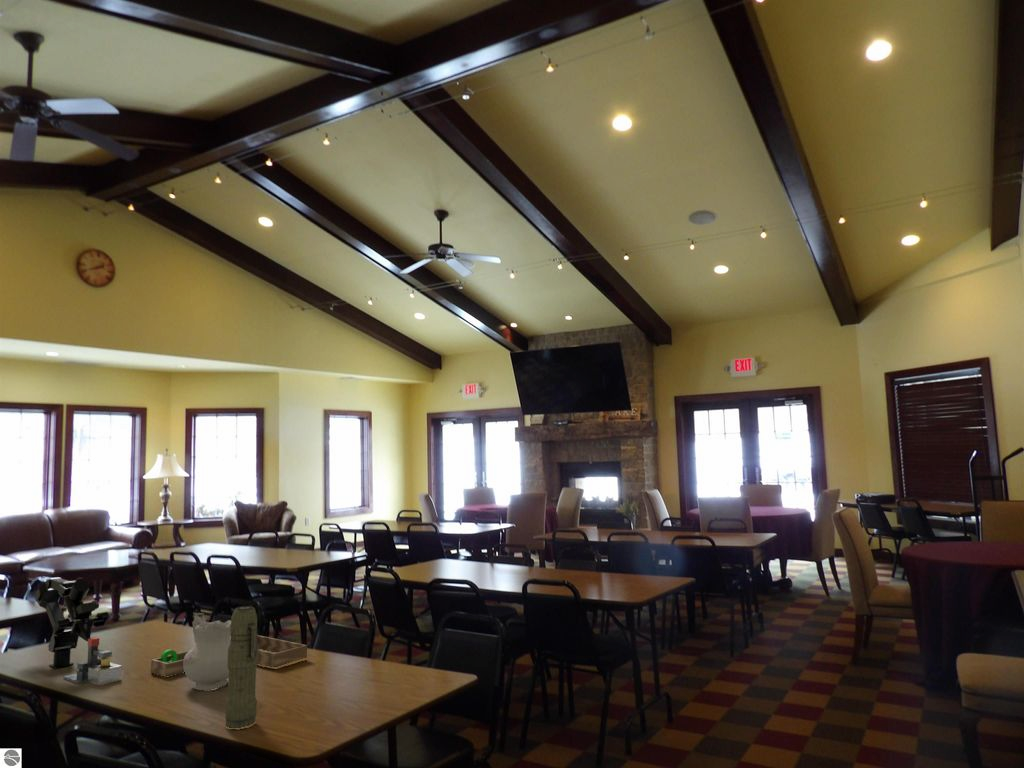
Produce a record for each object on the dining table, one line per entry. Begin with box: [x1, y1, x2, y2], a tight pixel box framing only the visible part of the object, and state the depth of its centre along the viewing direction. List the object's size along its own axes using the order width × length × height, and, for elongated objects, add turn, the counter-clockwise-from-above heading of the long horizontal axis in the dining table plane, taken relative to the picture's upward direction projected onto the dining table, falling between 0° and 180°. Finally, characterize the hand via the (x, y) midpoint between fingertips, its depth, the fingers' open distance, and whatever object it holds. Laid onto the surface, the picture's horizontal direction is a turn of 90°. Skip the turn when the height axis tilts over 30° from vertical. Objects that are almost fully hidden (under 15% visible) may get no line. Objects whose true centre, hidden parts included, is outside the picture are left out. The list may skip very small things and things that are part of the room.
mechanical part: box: [160, 648, 178, 663], centre depth 277 cm, size 12×6×8 cm, turn 137°
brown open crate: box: [257, 634, 308, 667], centre depth 291 cm, size 35×16×6 cm, turn 56°
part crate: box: [150, 650, 190, 677], centre depth 276 cm, size 11×17×5 cm, turn 146°
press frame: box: [62, 657, 101, 685], centre depth 268 cm, size 12×14×6 cm
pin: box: [101, 657, 111, 668], centre depth 263 cm, size 3×3×3 cm
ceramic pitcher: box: [183, 612, 231, 691], centre depth 258 cm, size 22×20×25 cm
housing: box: [87, 662, 123, 686], centre depth 263 cm, size 8×8×5 cm
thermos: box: [224, 605, 258, 728], centre depth 219 cm, size 9×12×35 cm
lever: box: [84, 636, 113, 673], centre depth 267 cm, size 16×4×12 cm, turn 56°
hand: (88, 640), depth 271 cm, fingers closed
